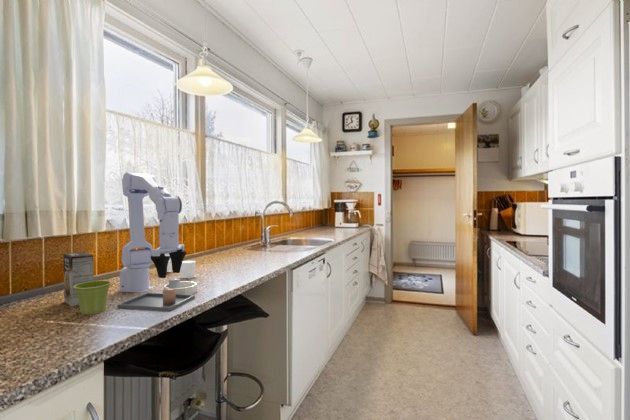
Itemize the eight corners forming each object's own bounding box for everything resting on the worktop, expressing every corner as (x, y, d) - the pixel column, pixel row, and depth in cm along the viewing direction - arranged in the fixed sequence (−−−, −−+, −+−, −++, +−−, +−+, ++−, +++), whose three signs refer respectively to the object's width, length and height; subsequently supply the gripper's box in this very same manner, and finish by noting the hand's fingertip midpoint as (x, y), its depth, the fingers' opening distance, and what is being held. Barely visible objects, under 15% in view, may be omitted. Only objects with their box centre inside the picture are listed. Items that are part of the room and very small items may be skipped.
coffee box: (63, 301, 112) (62, 253, 112) (85, 297, 117) (85, 251, 116) (71, 307, 106) (70, 256, 106) (94, 303, 111) (93, 254, 110)
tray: (117, 309, 104) (117, 304, 104) (147, 296, 118) (147, 292, 118) (170, 312, 101) (170, 307, 101) (194, 299, 115) (194, 295, 115)
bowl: (157, 296, 118) (157, 287, 118) (175, 288, 129) (175, 280, 129) (186, 298, 116) (186, 289, 116) (202, 290, 127) (202, 281, 127)
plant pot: (83, 320, 95) (82, 289, 95) (68, 314, 100) (67, 285, 100) (117, 311, 103) (117, 282, 103) (101, 305, 108) (101, 279, 108)
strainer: (179, 271, 161) (179, 240, 161) (167, 274, 155) (167, 241, 155) (168, 270, 164) (168, 239, 164) (156, 272, 158) (156, 241, 158)
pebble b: (160, 304, 107) (160, 290, 107) (167, 301, 111) (167, 287, 111) (171, 305, 107) (171, 291, 107) (177, 301, 111) (177, 288, 110)
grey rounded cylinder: (166, 292, 121) (166, 280, 121) (172, 290, 125) (171, 278, 125) (177, 292, 121) (176, 280, 121) (182, 290, 125) (181, 278, 124)
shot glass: (190, 279, 145) (190, 263, 145) (176, 278, 147) (176, 262, 146) (199, 275, 152) (199, 260, 152) (185, 275, 153) (185, 259, 153)
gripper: (166, 235, 101) (167, 280, 102) (192, 231, 116) (192, 271, 116) (145, 235, 103) (146, 279, 103) (173, 231, 117) (174, 270, 117)
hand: (169, 275), depth 109 cm, fingers open, 7 cm apart
